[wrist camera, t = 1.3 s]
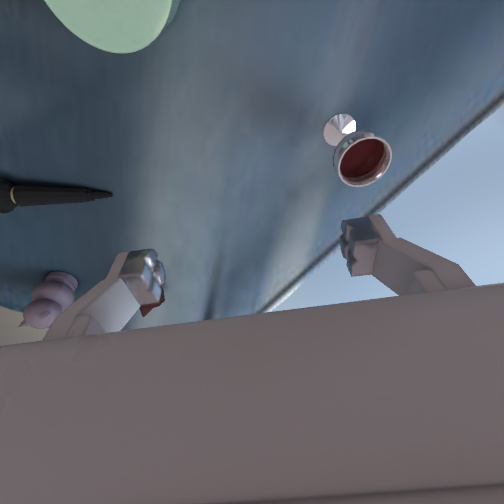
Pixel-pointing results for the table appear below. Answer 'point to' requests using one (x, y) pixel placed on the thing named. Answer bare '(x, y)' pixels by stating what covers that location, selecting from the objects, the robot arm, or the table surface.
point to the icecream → (148, 307)
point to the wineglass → (357, 151)
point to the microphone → (43, 195)
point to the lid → (114, 21)
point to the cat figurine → (49, 300)
